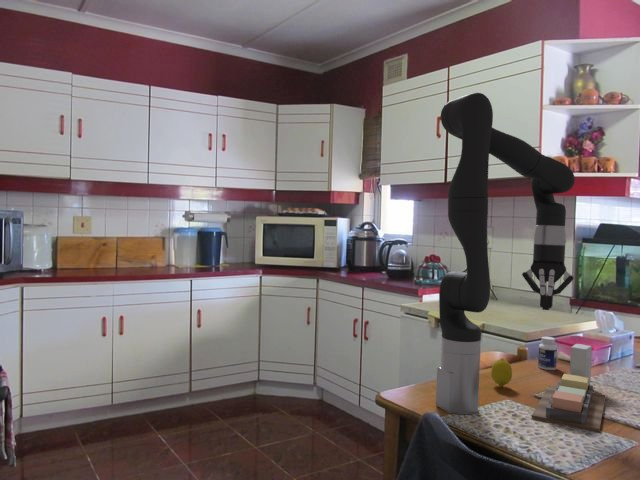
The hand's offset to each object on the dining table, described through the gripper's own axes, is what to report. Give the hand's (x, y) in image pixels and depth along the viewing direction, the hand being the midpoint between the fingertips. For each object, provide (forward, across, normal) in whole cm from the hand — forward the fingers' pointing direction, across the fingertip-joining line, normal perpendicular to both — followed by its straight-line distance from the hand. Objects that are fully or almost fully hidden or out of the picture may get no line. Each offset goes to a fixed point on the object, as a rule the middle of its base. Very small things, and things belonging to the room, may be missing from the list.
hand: (546, 309), depth 138 cm
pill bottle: (+23, -4, +34) cm, 41 cm away
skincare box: (+23, +7, +16) cm, 29 cm away
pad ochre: (+21, +7, +6) cm, 23 cm away
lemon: (+24, -11, +4) cm, 27 cm away
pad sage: (+22, +7, -3) cm, 24 cm away
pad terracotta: (+21, +7, -12) cm, 26 cm away
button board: (+23, +7, -3) cm, 25 cm away
